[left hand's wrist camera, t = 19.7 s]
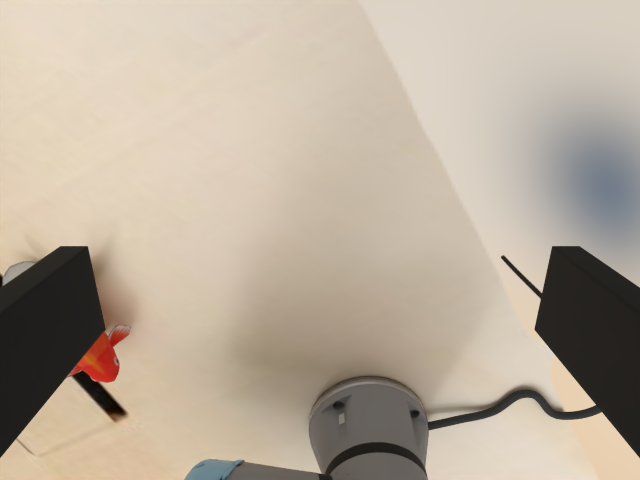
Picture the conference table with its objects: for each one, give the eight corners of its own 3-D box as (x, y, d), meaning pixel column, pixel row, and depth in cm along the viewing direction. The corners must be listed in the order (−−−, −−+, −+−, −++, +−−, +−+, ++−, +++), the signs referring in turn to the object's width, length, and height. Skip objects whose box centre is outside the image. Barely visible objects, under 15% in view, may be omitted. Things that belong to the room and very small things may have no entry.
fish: (54, 404, 50) (6, 427, 40) (12, 278, 51) (-45, 270, 42) (147, 366, 52) (123, 378, 42) (104, 245, 53) (71, 231, 44)
